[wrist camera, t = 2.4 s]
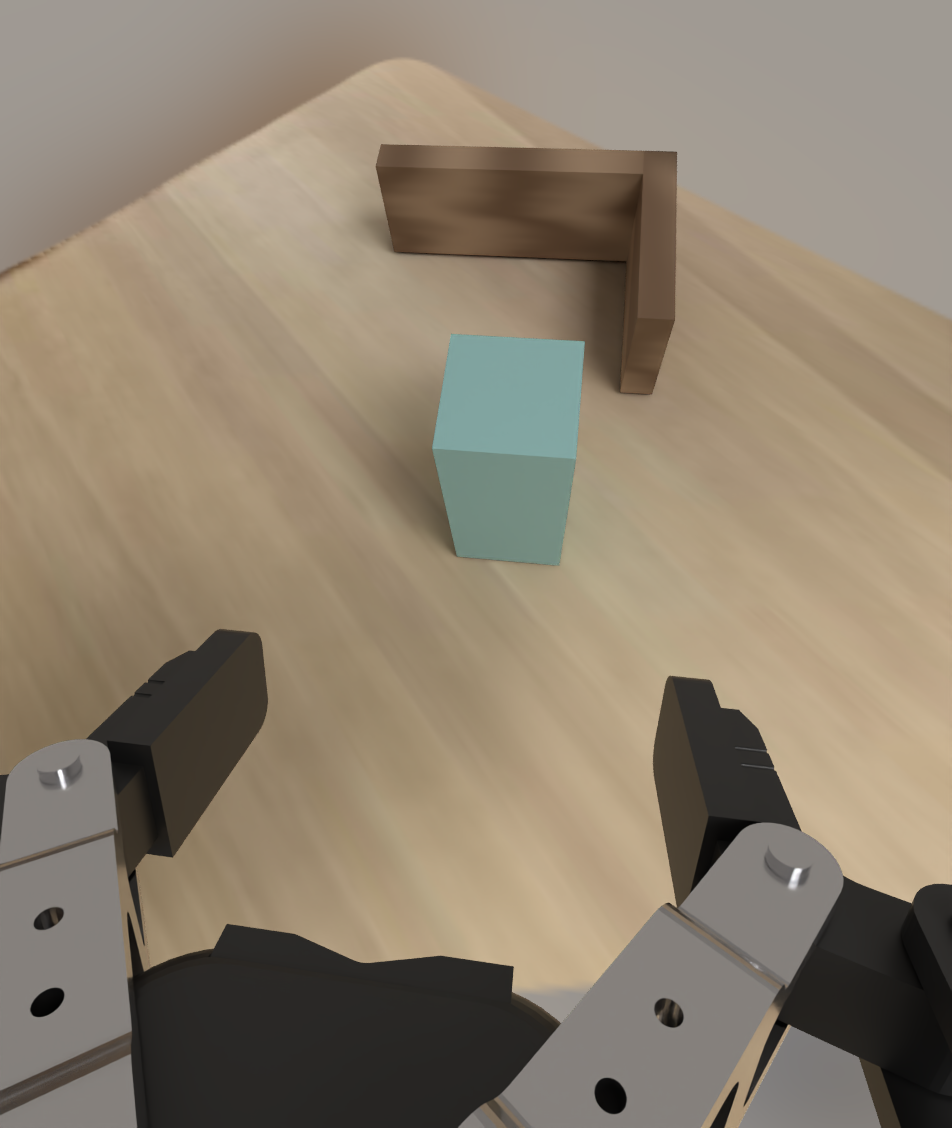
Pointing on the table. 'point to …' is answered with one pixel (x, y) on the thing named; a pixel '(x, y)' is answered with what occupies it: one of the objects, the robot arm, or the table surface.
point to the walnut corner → (549, 221)
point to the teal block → (508, 444)
